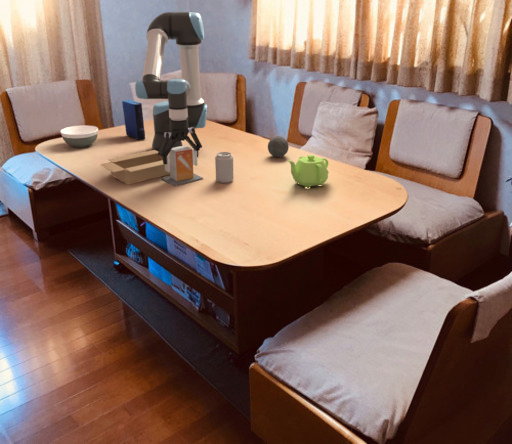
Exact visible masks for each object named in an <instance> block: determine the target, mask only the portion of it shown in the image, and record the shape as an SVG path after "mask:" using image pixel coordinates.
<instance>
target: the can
mask: <svg viewBox="0 0 512 444" xmlns="http://www.w3.org/2000/svg"><path fill="white" fill-rule="evenodd" d="M214 159H215V161H214V162H215V180H216V181H217V182H218V183H221V184H229V183H231V182H233V180H234V177H235V175H234V156H233V155H232V153H231V152H229V151H220V152H217V153H216V156H215V158H214Z"/></svg>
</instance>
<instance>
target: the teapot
mask: <svg viewBox="0 0 512 444" xmlns="http://www.w3.org/2000/svg"><path fill="white" fill-rule="evenodd" d="M288 162H289V164H290V174H291V176H292V179H293V181H294V182H296V184H297V183H299V184H298V185H300V186H304V188H305V187H307V188H309V187H315V186H317V185H324V184H325V183H326V181H327V180H328V179H329V170H328V166H329V160H328V159H327V158H324V157H318V156H315V155H314V154H308V155H307V156H305V155H304V156H303V155H302V156H300V157H299V158H298V160H297V161H296V162H294V161H293V160H288Z"/></svg>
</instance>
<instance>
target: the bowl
mask: <svg viewBox="0 0 512 444" xmlns="http://www.w3.org/2000/svg"><path fill="white" fill-rule="evenodd" d="M98 131H99V128H98V126H95V125H71V126H68V127H65V128H62V129H60V131H59V132H60V135H61V137H62V140H63V141H64V142H65V143H66V144H67V145H69V146H71V147H73V148H77V149H78V148H79V149H81V148H87V147H90V146H91V145H92V144H94V143H95V141H96V140H97V138H98Z"/></svg>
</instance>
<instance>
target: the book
mask: <svg viewBox="0 0 512 444" xmlns="http://www.w3.org/2000/svg"><path fill="white" fill-rule="evenodd" d="M121 103H122V110H123V117H124V126H125V135H126V136H128V137H130V138H133V139H135V140H137V141H144V140H145V139H146V130H145V124H144V114H143V112H144V111H143V106H142V105H143V104H142V102H137V101H135V100H132V99H131V100H130V99H126V100H123V101H121Z"/></svg>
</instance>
